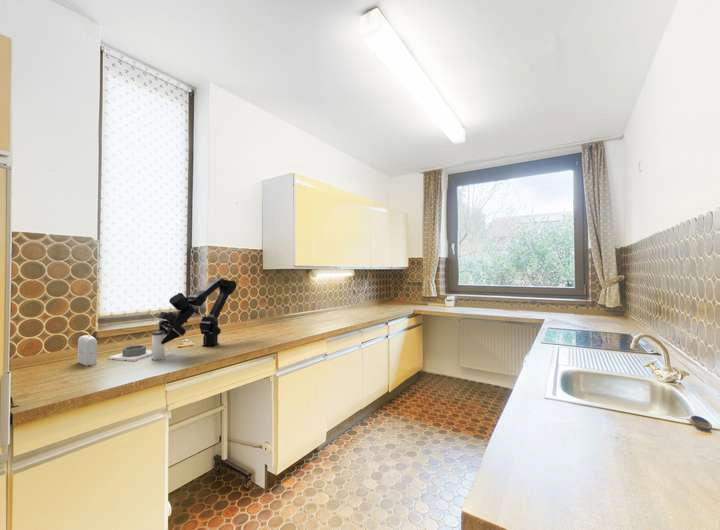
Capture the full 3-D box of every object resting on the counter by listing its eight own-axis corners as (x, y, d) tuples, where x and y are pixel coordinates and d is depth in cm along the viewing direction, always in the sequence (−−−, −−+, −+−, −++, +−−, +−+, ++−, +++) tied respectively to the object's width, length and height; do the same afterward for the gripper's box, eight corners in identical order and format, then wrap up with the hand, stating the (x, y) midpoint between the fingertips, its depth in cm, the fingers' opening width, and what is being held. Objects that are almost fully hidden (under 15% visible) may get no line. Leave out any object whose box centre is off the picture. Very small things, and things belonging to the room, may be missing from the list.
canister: (167, 357, 150) (167, 331, 150) (158, 360, 145) (158, 333, 145) (157, 356, 151) (158, 330, 151) (148, 359, 146) (148, 332, 146)
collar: (158, 352, 157) (159, 344, 157) (133, 361, 144) (134, 352, 144) (134, 351, 160) (134, 343, 160) (108, 359, 146) (108, 350, 146)
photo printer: (98, 364, 139) (98, 335, 139) (86, 366, 136) (86, 337, 136) (87, 360, 144) (88, 333, 144) (75, 362, 141) (76, 334, 141)
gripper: (163, 303, 158) (136, 328, 149) (179, 307, 147) (151, 334, 138) (179, 317, 164) (155, 342, 156) (196, 322, 153) (170, 349, 144)
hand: (157, 342), depth 148 cm, fingers open, 9 cm apart
